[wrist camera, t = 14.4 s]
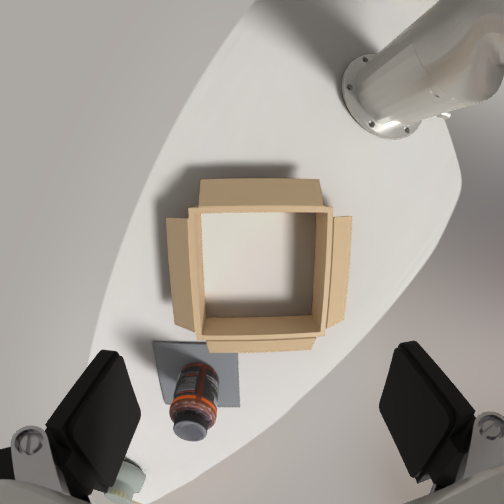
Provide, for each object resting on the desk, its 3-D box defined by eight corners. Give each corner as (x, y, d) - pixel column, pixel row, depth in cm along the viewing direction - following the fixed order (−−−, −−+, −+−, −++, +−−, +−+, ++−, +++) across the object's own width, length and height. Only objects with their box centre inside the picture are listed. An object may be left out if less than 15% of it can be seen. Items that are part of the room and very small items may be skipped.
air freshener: (140, 482, 47) (131, 513, 37) (107, 468, 46) (96, 498, 36) (149, 465, 45) (140, 500, 35) (113, 449, 44) (100, 483, 34)
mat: (237, 343, 38) (237, 344, 38) (239, 405, 41) (239, 407, 40) (153, 341, 38) (152, 342, 37) (166, 402, 40) (165, 404, 40)
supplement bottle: (171, 375, 39) (154, 428, 28) (197, 354, 38) (184, 407, 27) (201, 397, 40) (193, 451, 29) (228, 378, 39) (225, 433, 28)
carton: (343, 181, 34) (359, 180, 29) (333, 335, 38) (344, 354, 33) (171, 182, 33) (159, 180, 28) (182, 340, 38) (175, 360, 33)
